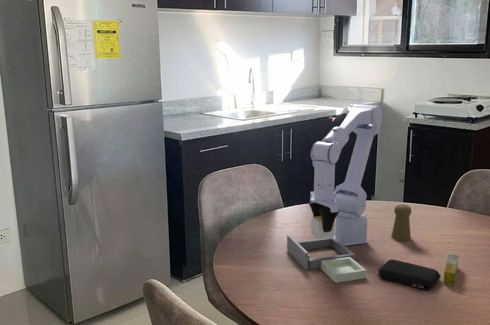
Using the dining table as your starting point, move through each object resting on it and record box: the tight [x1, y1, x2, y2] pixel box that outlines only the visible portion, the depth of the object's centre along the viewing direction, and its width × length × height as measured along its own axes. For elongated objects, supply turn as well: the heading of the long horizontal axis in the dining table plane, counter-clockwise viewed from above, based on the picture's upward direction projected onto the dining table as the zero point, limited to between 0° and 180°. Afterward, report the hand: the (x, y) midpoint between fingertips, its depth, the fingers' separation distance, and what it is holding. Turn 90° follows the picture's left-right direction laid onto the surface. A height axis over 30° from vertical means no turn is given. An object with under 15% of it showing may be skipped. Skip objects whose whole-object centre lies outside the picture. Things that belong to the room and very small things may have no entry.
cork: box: [390, 203, 412, 242], centre depth 156 cm, size 6×6×11 cm
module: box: [310, 216, 336, 239], centre depth 142 cm, size 5×5×5 cm
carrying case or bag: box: [377, 259, 441, 291], centre depth 129 cm, size 11×3×15 cm
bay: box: [320, 257, 367, 284], centre depth 133 cm, size 9×9×2 cm
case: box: [286, 234, 356, 271], centre depth 143 cm, size 15×14×5 cm
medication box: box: [443, 254, 459, 287], centre depth 131 cm, size 12×3×4 cm, turn 153°
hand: (323, 228), depth 142 cm, fingers closed on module, 5 cm apart
